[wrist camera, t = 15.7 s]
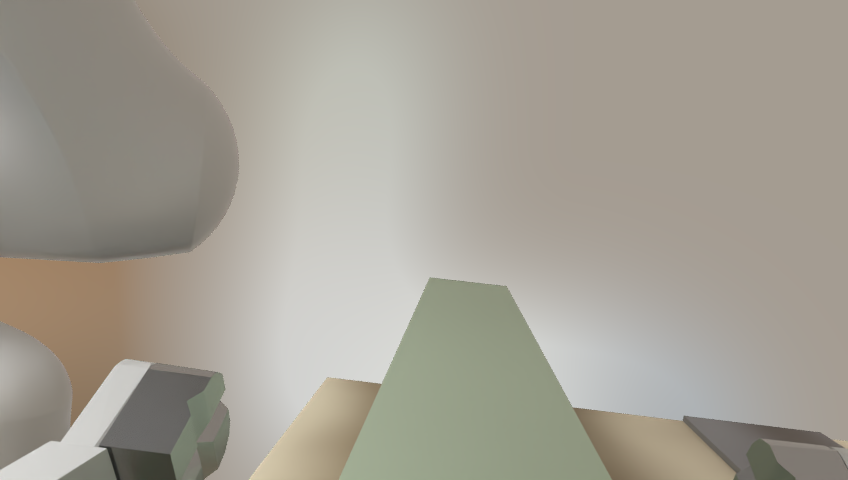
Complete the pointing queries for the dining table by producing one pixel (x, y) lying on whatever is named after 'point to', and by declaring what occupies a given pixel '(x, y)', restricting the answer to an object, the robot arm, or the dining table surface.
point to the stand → (609, 432)
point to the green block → (471, 399)
